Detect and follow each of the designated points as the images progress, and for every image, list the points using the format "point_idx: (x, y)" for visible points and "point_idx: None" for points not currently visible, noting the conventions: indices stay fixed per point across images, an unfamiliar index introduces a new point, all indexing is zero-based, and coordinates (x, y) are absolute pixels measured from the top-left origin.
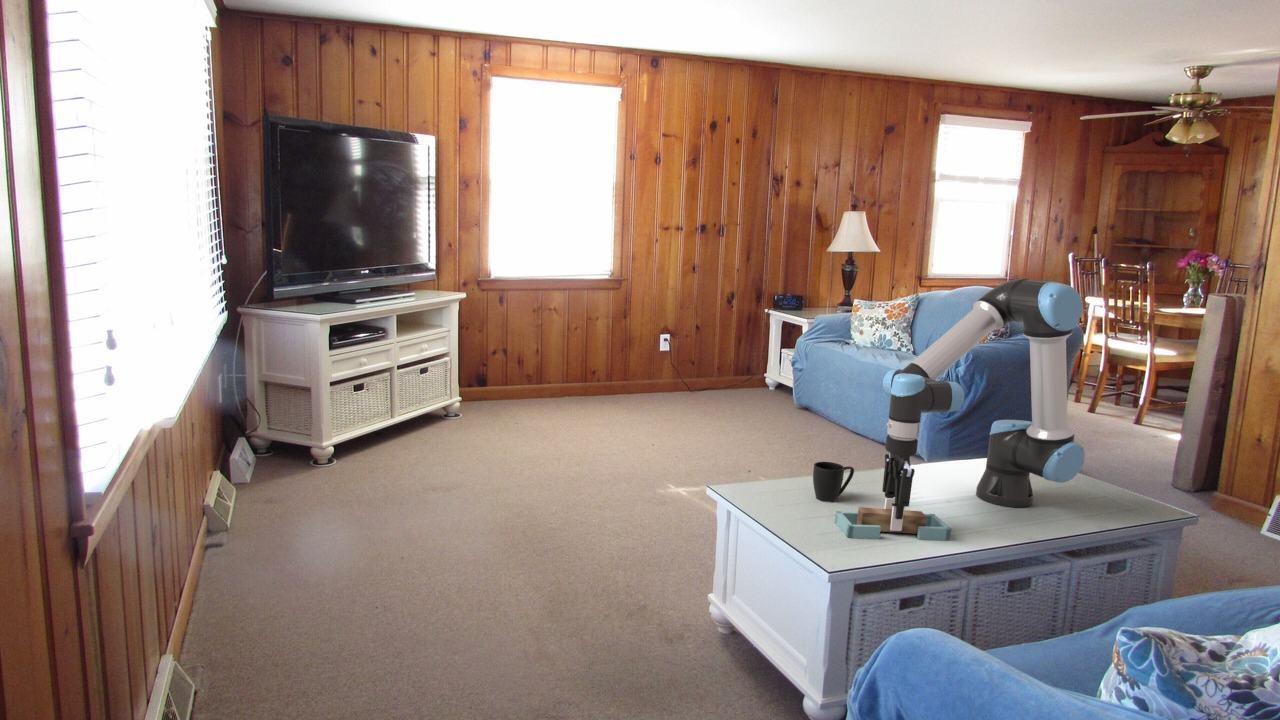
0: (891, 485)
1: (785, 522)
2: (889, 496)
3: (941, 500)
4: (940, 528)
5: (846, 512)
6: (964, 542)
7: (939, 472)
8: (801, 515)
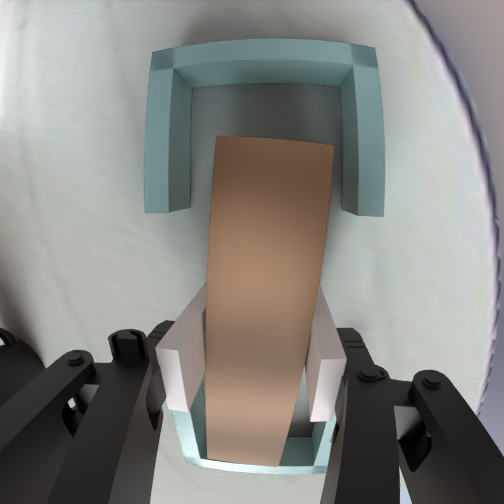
0: (145, 476)
1: (217, 499)
2: (160, 397)
3: (14, 40)
4: (379, 99)
5: (190, 447)
6: (369, 31)
7: None
8: (162, 468)
